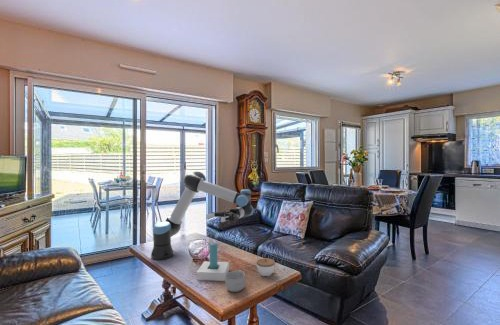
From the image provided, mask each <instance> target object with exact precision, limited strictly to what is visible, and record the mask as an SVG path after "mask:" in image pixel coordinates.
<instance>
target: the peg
mask: <svg viewBox="0 0 500 325" xmlns="http://www.w3.org/2000/svg"><path fill="white" fill-rule="evenodd" d="M209 262H210V269H218V264H217V262H218V243H216V242H211V243H209Z"/></svg>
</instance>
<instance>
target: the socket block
mask: <svg viewBox="0 0 500 325" xmlns="http://www.w3.org/2000/svg"><path fill="white" fill-rule="evenodd" d="M217 264H218V269H210V261H206V260H205V261H202V264H201V265H200V267H199V268H198V270H197V271H196V281H218V282H222V281H223V282H225V274H226V273H228V272H230V262H229V261H217Z"/></svg>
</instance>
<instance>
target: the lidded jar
mask: <svg viewBox="0 0 500 325" xmlns="http://www.w3.org/2000/svg"><path fill="white" fill-rule="evenodd" d="M275 264H276V262H275V260H274V259H272V258H270V257H269V258H268V257H267V258H266V257H264V258H259V259H257V260H256V268H257V269H256V270H257V271H258V274H259V275H260V276H262V277H264V276H267V277H270V276H271V275H272V274H274V271H275Z"/></svg>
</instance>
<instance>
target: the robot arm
mask: <svg viewBox="0 0 500 325" xmlns="http://www.w3.org/2000/svg"><path fill="white" fill-rule="evenodd" d="M183 183H184V190H183V192H182V194H181V195H180V197H179V199H178V200H177V203H176V204H175V207H174V208H173V211H172V212H171V214H170V215H168V216H167V218H166V219H165V221H160V222H156V223H155V224H154V225H153V227H152V228H153V230H152V233H153V234H152V235H153V248H152V249H151V250H152V251H151V254H150V259H152V260H154V259H156V261H162V260H163V261H164V260H168V259H171V258H173V257H174V249H173V246H172V240H171V239H172V237H174V236H176V235H177V234H178V233H179V231H181V226H182V224H183V221H182V219H183V217H184V216H185V214H186V212H187V210H188V209H189V207H190V205H191V203H192V201H193V199H194V197H195V196H196V194H198V193H199V192H203V193H206V194H209V195H212V196H213V197H217V198H220V199H223V200H225V201H228V202H230V203H234V204H236V205H237V206H238V207H233V208H231V209H230V210H227V211H226V210H225V211H214V212H211V213H209V214H206V220H208V219H212V218H213V219H214V218H215V217H216V218H217V217H218V218H219V217H220V223H224V222H229V221H232V222H234V221H235V220H237V219H239V220H240V219H241V218H246V217H249V216H252V215H253V214H254V213H255V212H254V211H255V210H254V207H253V206H252V200H251V199H252V198H251V197H252V191H251V189H248V188H247V189H245V188H244V189H243V188H242V189H241V190H240V192H238V191H234V190H232V189H229V188H227V187H223V186H220V185H218V184H215V183H212V182H210V181H207V179H206V176H205V174H204V173H203V172H201V171H194V172H188V173H187V174H186V175H185V176H184V179H183Z"/></svg>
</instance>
